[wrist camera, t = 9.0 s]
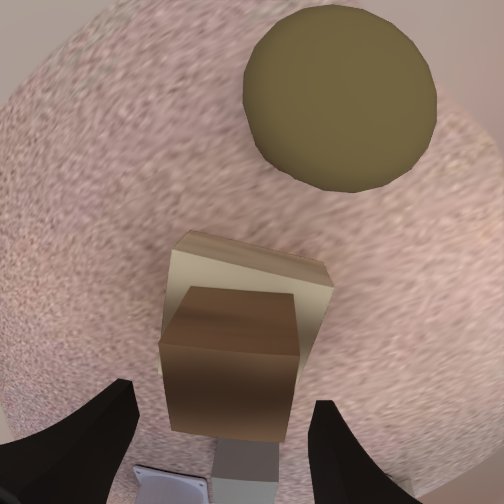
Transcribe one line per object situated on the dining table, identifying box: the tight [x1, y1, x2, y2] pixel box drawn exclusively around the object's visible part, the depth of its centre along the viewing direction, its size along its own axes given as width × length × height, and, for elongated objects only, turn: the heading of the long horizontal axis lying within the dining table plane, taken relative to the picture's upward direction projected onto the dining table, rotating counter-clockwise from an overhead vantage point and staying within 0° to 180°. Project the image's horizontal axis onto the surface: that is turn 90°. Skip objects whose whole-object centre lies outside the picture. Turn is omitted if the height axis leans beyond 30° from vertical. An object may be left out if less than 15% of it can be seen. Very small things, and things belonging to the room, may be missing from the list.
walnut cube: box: [158, 286, 300, 442], centre depth 14 cm, size 5×5×5 cm
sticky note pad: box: [158, 230, 334, 387], centre depth 18 cm, size 8×8×4 cm
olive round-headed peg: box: [243, 4, 437, 193], centre depth 11 cm, size 6×6×11 cm
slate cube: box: [211, 437, 279, 504], centre depth 22 cm, size 5×5×5 cm
